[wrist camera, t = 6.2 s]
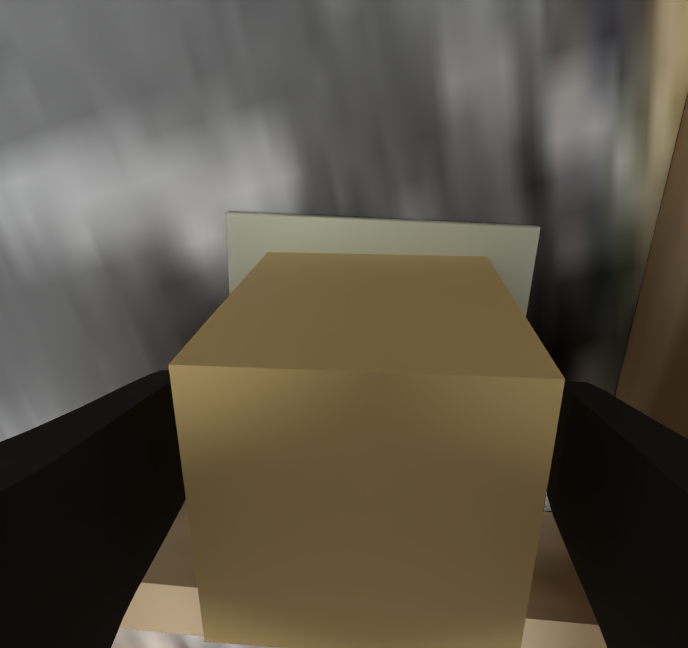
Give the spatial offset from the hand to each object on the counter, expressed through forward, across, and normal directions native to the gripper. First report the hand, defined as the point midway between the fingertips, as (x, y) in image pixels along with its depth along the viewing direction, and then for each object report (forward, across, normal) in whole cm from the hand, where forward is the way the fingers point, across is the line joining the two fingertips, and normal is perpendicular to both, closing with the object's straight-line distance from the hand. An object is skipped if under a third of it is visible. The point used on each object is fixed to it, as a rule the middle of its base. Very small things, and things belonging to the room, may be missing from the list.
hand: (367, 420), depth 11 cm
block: (+3, 0, 0) cm, 3 cm away
